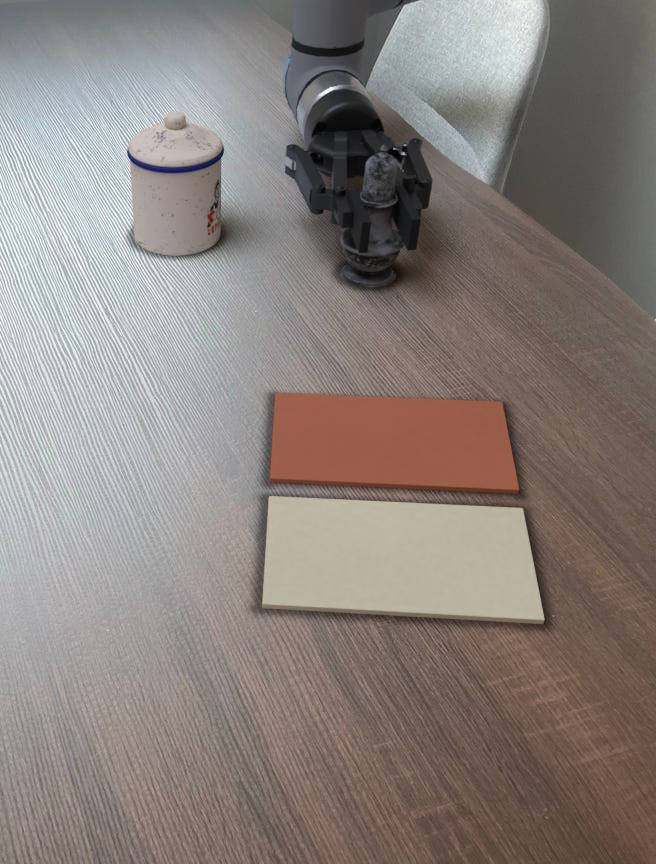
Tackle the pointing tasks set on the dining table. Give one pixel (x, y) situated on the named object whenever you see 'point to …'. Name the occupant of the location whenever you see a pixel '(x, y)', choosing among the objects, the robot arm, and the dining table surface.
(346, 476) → the terracotta mat
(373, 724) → the dining table surface
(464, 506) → the cream mat
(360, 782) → the dining table surface
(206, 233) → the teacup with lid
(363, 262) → the dark grey chess piece
